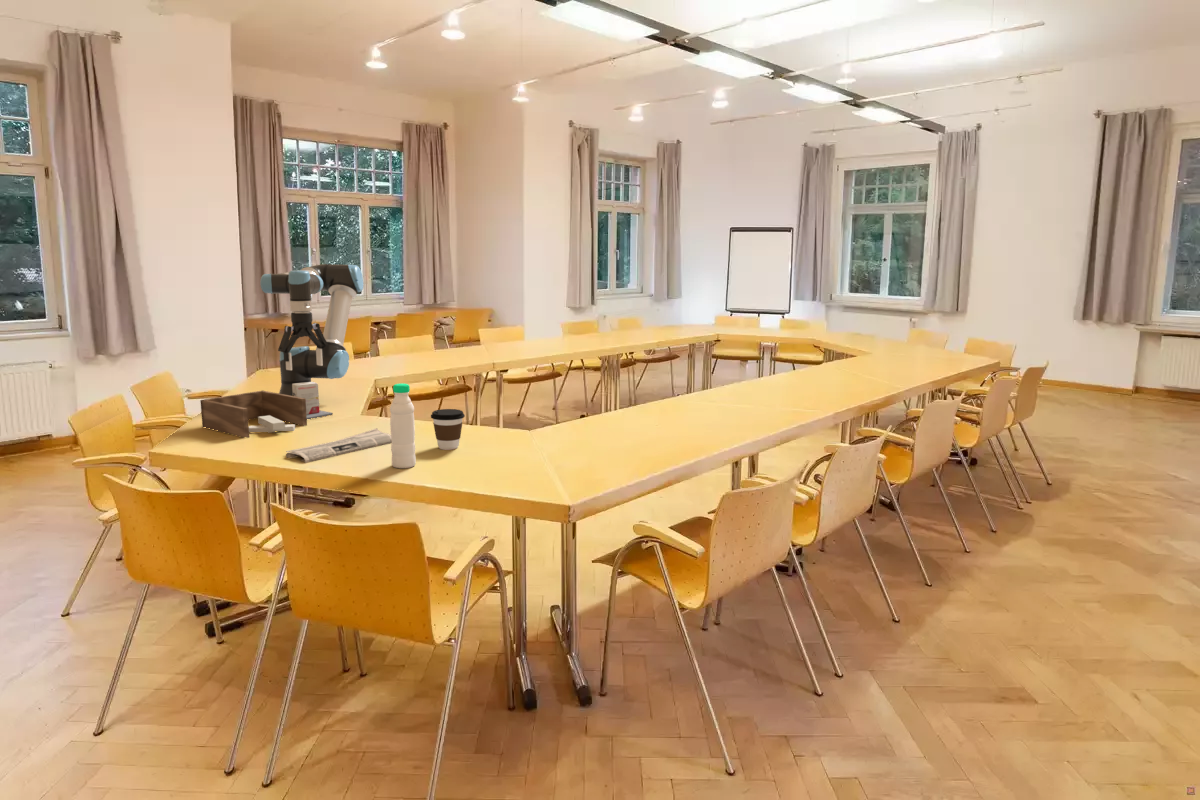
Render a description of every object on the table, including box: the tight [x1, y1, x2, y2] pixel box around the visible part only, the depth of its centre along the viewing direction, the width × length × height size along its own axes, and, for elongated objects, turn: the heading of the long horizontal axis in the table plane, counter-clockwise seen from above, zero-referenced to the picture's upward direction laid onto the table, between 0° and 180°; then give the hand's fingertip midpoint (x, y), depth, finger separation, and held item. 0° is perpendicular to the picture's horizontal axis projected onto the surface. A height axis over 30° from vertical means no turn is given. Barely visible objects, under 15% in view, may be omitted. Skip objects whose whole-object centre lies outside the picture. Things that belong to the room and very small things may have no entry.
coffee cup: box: [430, 408, 465, 451], centre depth 261 cm, size 11×11×12 cm
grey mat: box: [306, 409, 334, 420], centre depth 306 cm, size 13×14×1 cm
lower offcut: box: [249, 423, 296, 433], centre depth 280 cm, size 15×4×2 cm, turn 104°
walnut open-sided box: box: [199, 390, 308, 438], centre depth 286 cm, size 25×26×10 cm
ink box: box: [292, 381, 320, 414], centre depth 305 cm, size 9×5×12 cm, turn 130°
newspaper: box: [285, 428, 392, 464], centre depth 258 cm, size 35×12×4 cm, turn 144°
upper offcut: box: [257, 415, 286, 430], centre depth 280 cm, size 15×4×2 cm, turn 41°
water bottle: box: [389, 382, 417, 469], centre depth 237 cm, size 7×7×25 cm
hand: (304, 367), depth 303 cm, fingers open, 13 cm apart
